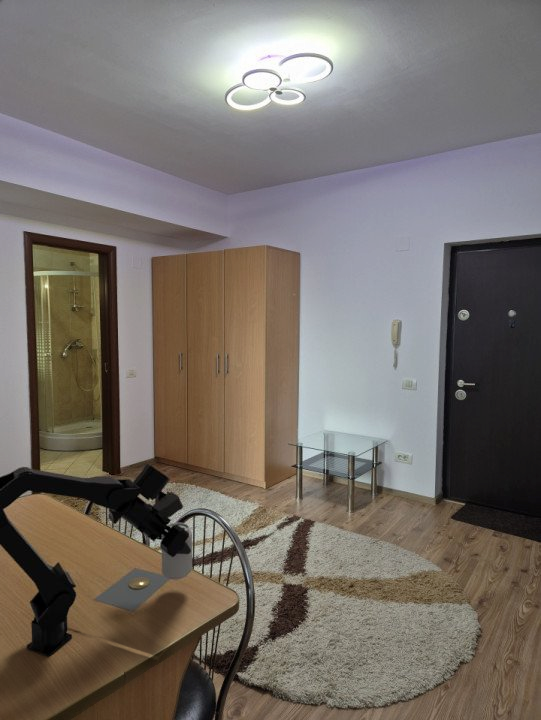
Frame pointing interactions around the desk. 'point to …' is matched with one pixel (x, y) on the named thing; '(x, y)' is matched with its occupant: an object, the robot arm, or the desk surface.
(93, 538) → the desk surface
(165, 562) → the can
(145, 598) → the mat
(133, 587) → the gold metal dome
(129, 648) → the desk surface
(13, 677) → the desk surface
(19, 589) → the desk surface
